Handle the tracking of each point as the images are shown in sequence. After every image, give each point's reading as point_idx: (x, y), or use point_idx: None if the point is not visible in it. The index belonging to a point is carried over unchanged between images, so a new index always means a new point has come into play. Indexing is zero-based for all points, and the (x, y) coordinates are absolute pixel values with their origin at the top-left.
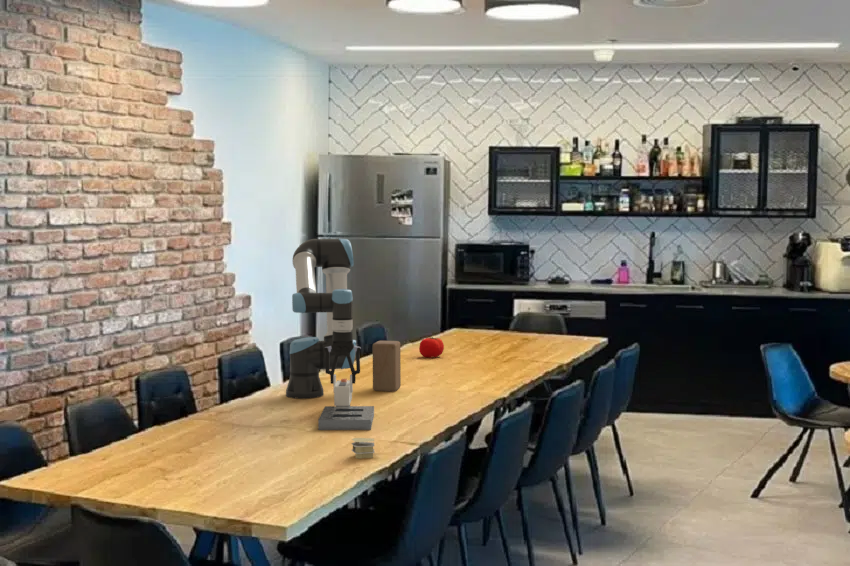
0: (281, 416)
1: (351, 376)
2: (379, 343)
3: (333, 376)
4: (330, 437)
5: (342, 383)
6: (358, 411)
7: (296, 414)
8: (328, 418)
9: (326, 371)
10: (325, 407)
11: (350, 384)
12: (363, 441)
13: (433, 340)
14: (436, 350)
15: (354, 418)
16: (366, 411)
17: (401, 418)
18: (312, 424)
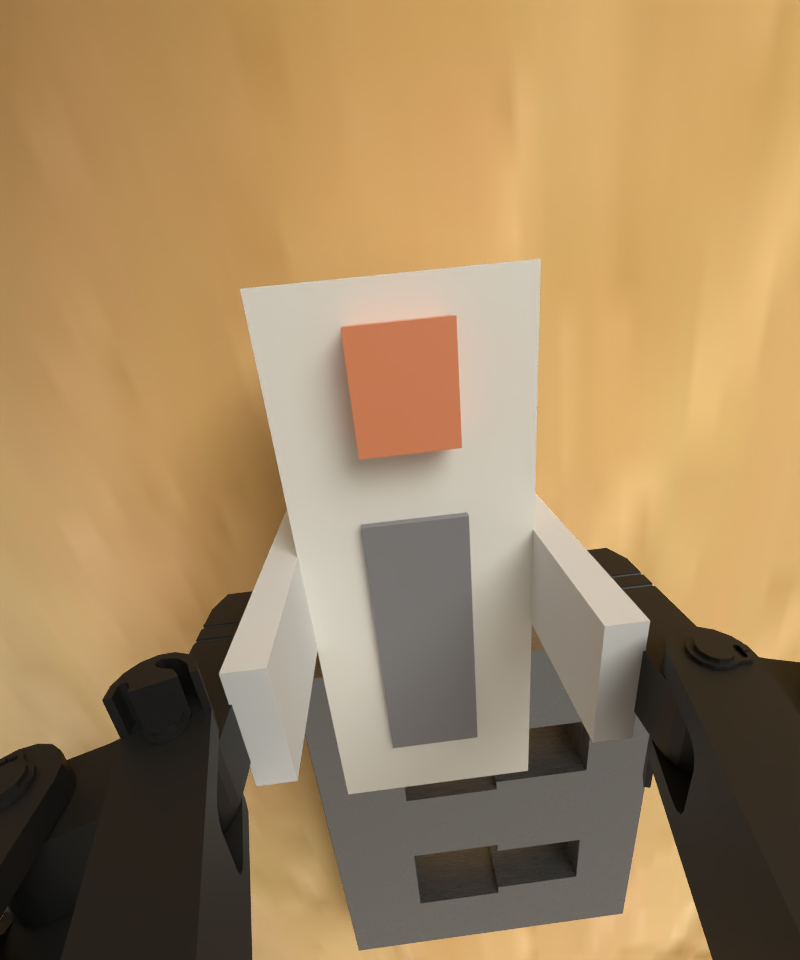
0: (11, 677)
1: (612, 720)
2: None
3: (263, 770)
4: (437, 953)
5: (417, 621)
6: (557, 782)
7: (82, 613)
8: (404, 923)
9: (51, 914)
10: (308, 714)
11: (535, 619)
12: None
13: None
14: None
15: (540, 905)
16: (607, 777)
17: (786, 639)
18: (296, 811)
